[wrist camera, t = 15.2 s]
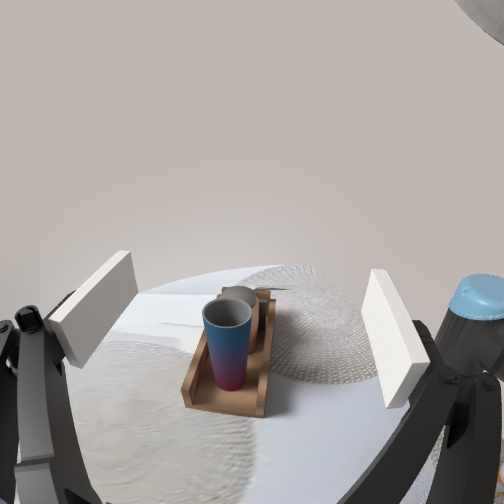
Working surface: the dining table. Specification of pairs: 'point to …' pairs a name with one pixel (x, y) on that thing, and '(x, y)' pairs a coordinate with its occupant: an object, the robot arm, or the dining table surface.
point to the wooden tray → (254, 390)
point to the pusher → (261, 314)
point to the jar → (253, 301)
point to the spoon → (273, 287)
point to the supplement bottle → (500, 480)
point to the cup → (228, 340)
